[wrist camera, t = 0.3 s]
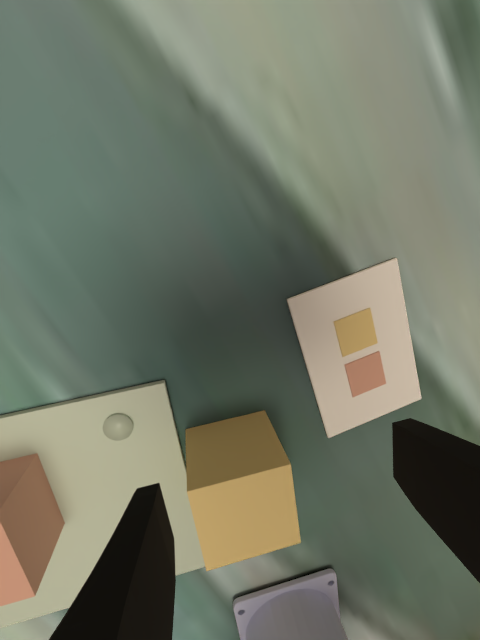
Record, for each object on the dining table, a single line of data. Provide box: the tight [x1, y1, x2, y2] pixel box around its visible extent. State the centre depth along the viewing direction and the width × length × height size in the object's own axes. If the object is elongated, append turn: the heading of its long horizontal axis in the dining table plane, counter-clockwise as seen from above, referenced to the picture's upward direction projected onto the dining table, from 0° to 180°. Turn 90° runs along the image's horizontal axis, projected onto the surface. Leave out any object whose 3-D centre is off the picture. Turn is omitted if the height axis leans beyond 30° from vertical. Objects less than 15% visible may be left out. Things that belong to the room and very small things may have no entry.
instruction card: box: [286, 258, 422, 438], centre depth 20 cm, size 10×7×1 cm
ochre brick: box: [185, 410, 301, 571], centre depth 18 cm, size 5×5×5 cm
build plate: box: [0, 380, 205, 628], centre depth 19 cm, size 14×16×1 cm
